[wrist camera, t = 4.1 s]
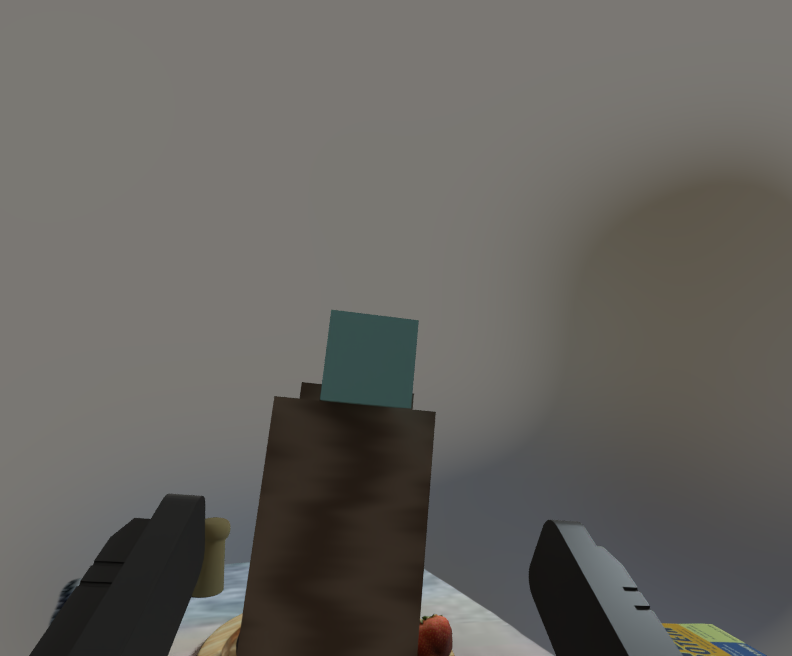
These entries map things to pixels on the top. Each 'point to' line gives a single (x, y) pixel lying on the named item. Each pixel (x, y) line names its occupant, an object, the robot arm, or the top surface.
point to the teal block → (369, 360)
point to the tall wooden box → (339, 530)
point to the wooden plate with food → (432, 641)
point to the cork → (213, 558)
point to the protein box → (707, 641)
